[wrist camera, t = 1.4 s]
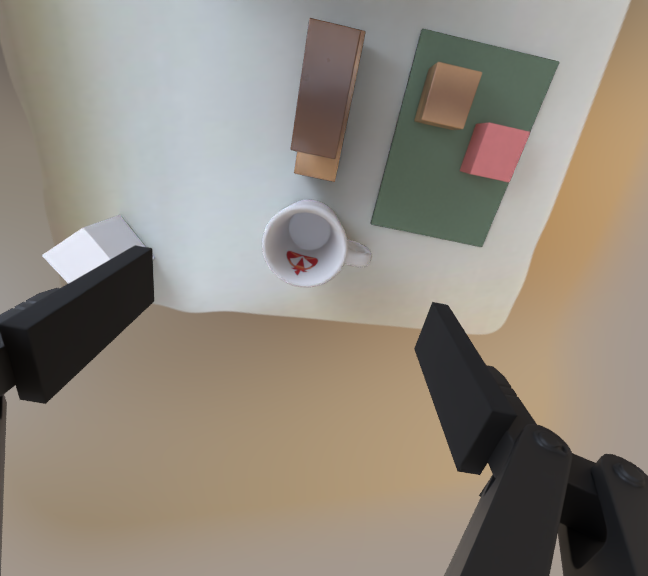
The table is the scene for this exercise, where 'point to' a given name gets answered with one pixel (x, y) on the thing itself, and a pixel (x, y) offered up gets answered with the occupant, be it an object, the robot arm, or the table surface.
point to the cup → (309, 245)
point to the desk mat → (456, 141)
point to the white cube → (91, 247)
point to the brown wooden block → (325, 97)
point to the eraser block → (494, 151)
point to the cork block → (447, 96)
